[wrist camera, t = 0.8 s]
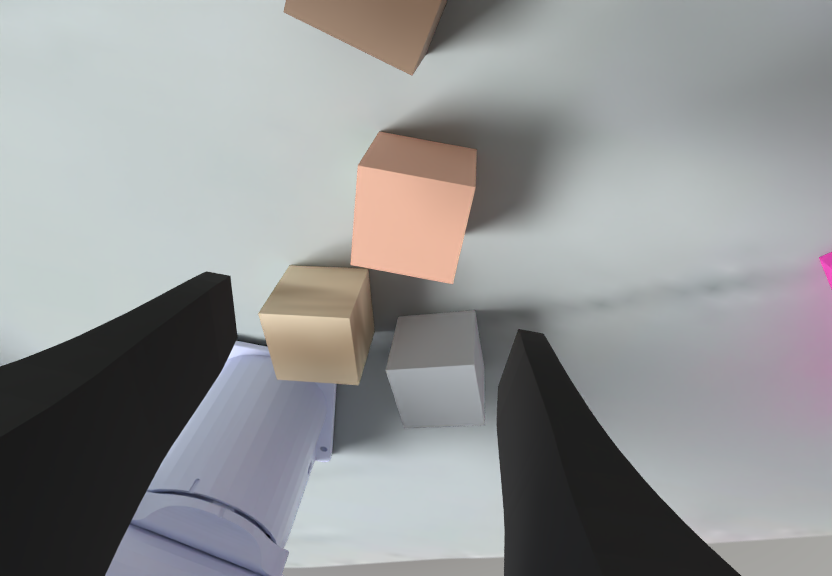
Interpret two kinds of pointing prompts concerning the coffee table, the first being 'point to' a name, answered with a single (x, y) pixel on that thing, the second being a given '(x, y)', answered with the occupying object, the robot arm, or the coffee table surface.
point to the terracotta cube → (412, 206)
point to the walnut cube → (376, 26)
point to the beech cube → (319, 324)
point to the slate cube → (438, 370)
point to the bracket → (827, 266)
